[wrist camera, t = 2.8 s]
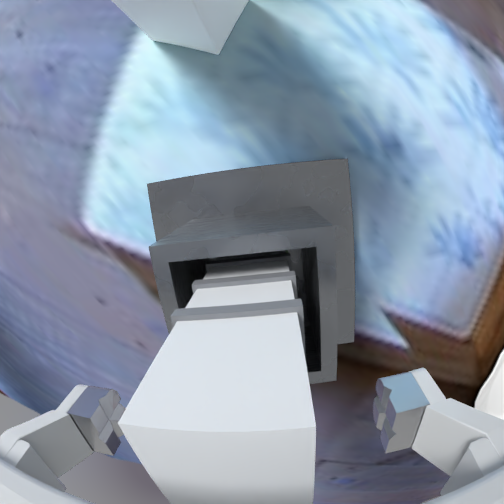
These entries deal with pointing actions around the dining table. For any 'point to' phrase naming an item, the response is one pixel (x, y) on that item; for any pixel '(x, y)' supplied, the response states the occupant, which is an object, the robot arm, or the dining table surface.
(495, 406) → the plate
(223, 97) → the dining table surface
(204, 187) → the stand
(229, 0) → the milk
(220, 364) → the column
